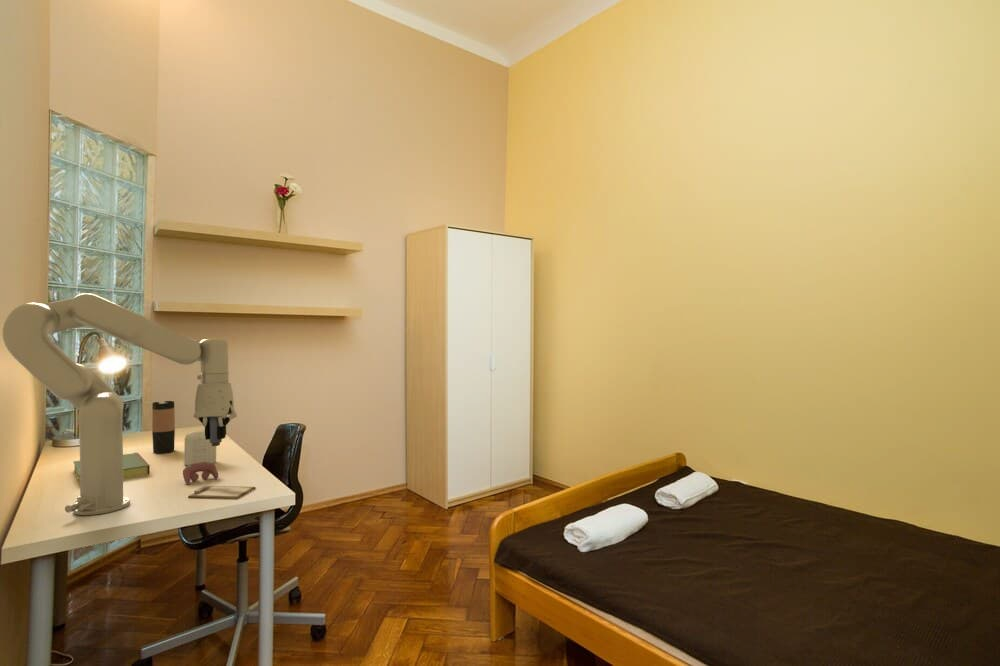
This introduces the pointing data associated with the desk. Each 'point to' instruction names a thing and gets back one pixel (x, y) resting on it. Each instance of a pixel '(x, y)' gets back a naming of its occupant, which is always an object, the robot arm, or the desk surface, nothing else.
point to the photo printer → (198, 448)
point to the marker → (214, 431)
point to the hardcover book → (126, 466)
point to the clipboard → (221, 492)
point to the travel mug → (163, 427)
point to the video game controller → (197, 467)
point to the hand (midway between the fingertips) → (215, 438)
